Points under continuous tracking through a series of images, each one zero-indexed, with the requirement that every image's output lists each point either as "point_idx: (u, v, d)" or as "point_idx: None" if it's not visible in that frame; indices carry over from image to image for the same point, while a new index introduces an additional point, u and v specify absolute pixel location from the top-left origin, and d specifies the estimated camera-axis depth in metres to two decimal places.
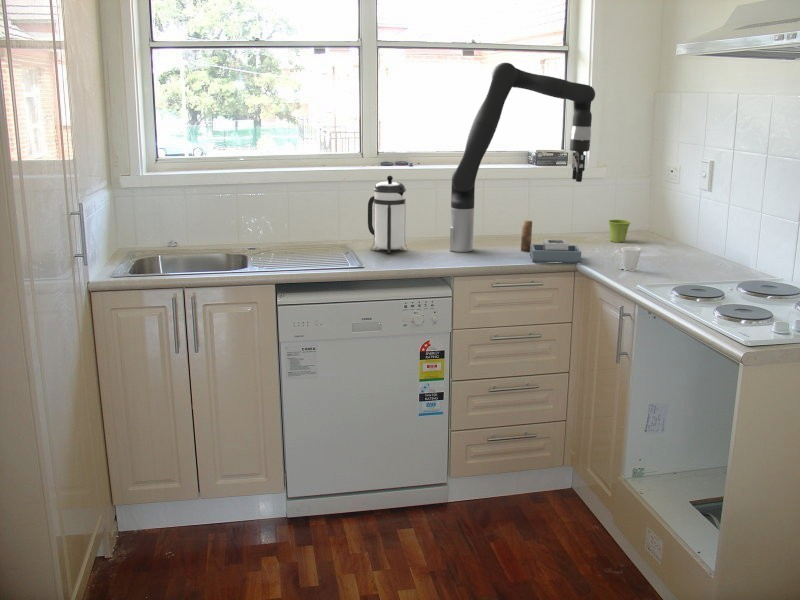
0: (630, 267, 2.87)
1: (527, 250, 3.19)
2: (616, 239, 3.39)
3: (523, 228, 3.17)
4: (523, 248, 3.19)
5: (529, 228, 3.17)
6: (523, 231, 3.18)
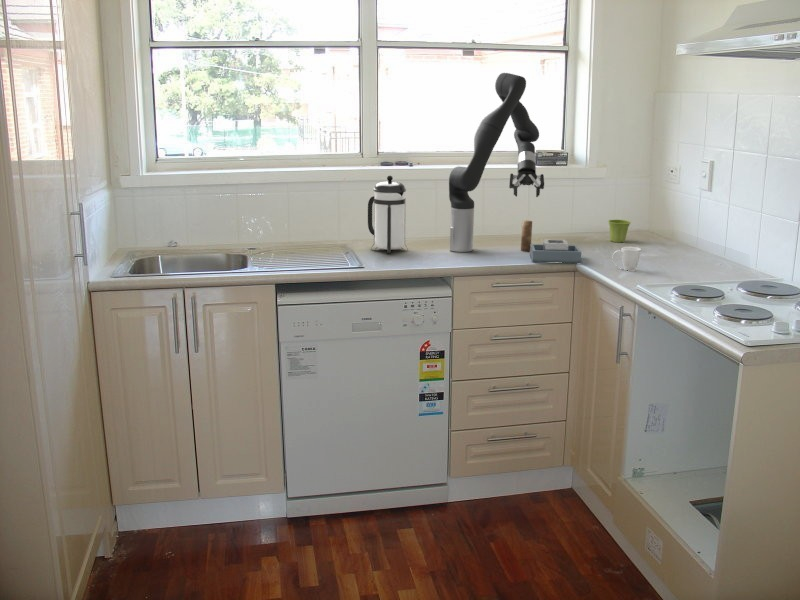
0: (630, 267, 2.87)
1: (527, 250, 3.19)
2: (616, 239, 3.39)
3: (523, 228, 3.17)
4: (523, 248, 3.19)
5: (529, 228, 3.17)
6: (523, 231, 3.18)
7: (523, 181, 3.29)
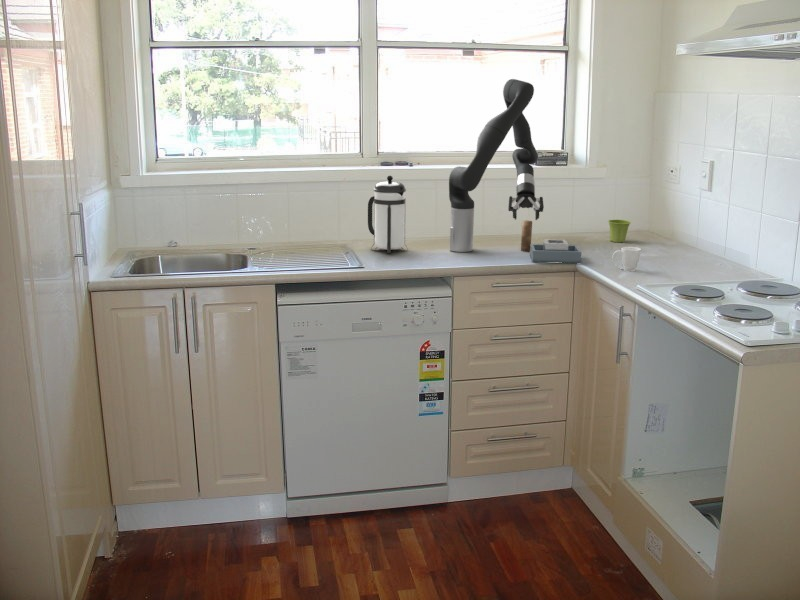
0: (630, 267, 2.87)
1: (527, 250, 3.19)
2: (616, 239, 3.39)
3: (523, 228, 3.17)
4: (523, 248, 3.19)
5: (529, 228, 3.17)
6: (523, 231, 3.18)
7: (522, 204, 3.26)
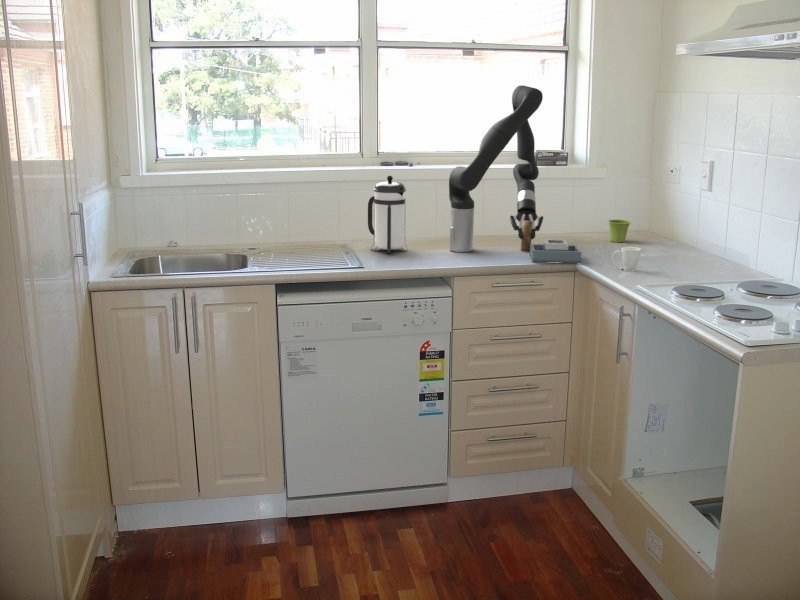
0: (630, 267, 2.87)
1: (527, 250, 3.19)
2: (616, 239, 3.39)
3: (523, 228, 3.17)
4: (523, 248, 3.19)
5: (529, 228, 3.17)
6: (523, 231, 3.18)
7: None
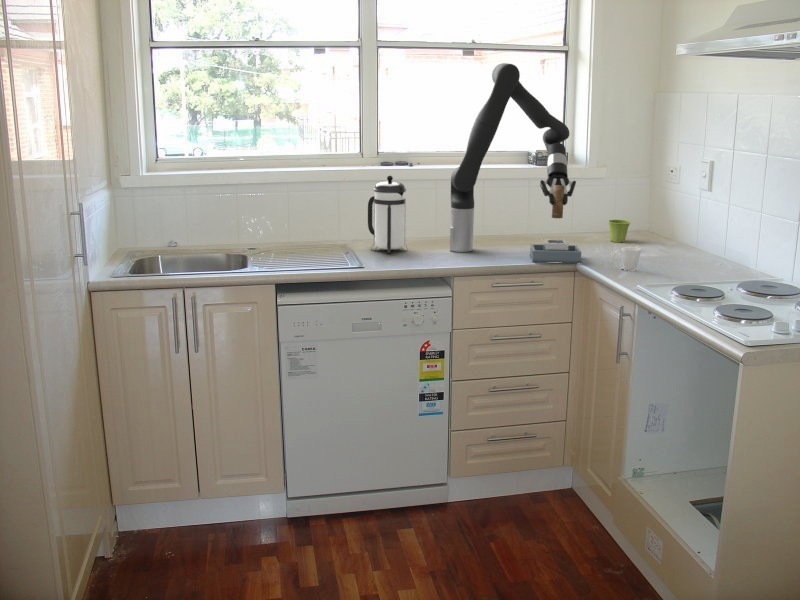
0: (630, 267, 2.87)
1: (559, 217, 2.99)
2: (615, 239, 3.39)
3: (555, 193, 2.97)
4: (554, 215, 2.99)
5: (561, 193, 2.97)
6: (555, 196, 2.98)
7: None
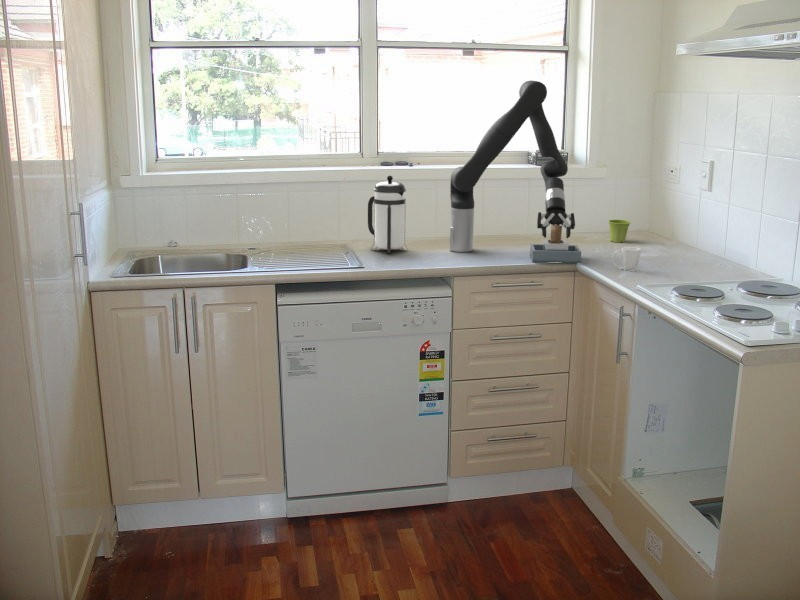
0: (630, 267, 2.87)
1: None
2: (616, 239, 3.39)
3: (552, 233, 3.02)
4: None
5: (559, 233, 3.01)
6: (552, 236, 3.02)
7: (552, 221, 3.04)
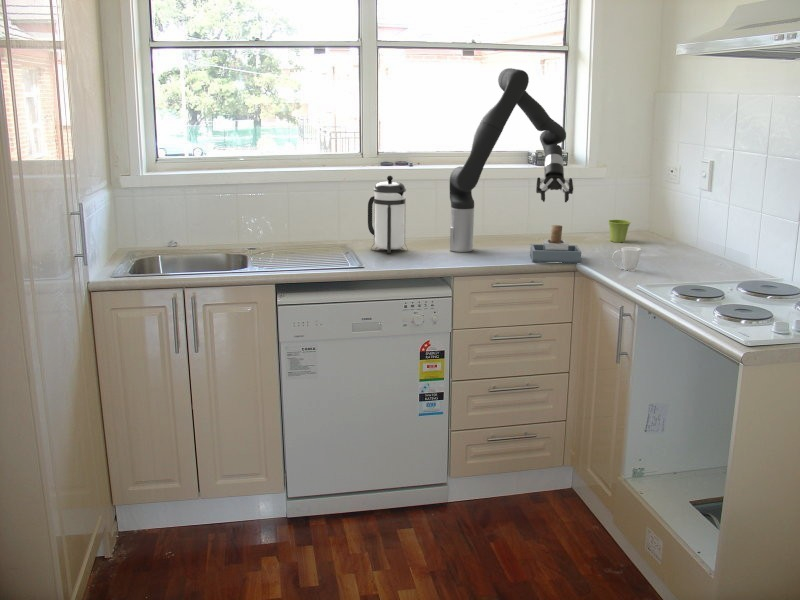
0: (630, 267, 2.87)
1: None
2: (616, 239, 3.39)
3: (552, 233, 3.01)
4: None
5: (559, 233, 3.01)
6: (552, 236, 3.02)
7: (551, 185, 3.12)
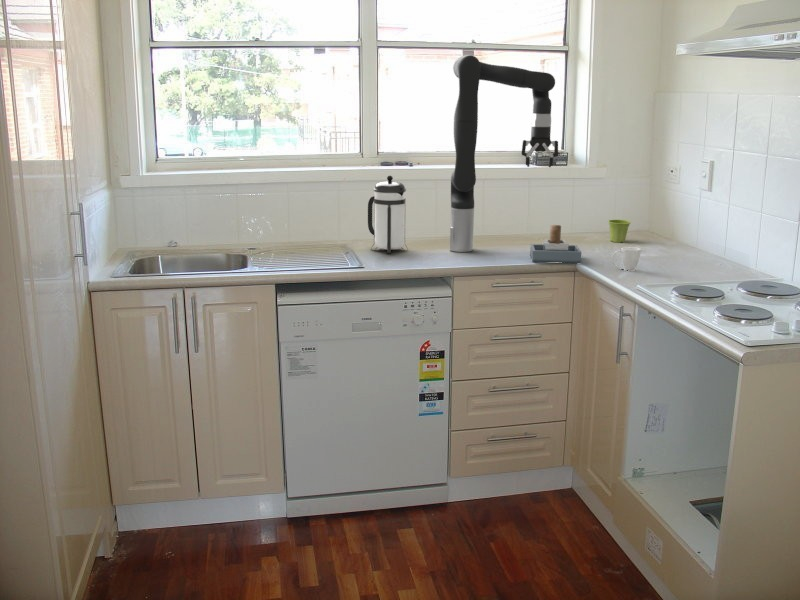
0: (630, 267, 2.87)
1: None
2: (616, 239, 3.39)
3: (552, 233, 3.02)
4: None
5: (558, 233, 3.01)
6: (552, 236, 3.02)
7: (536, 150, 3.15)
